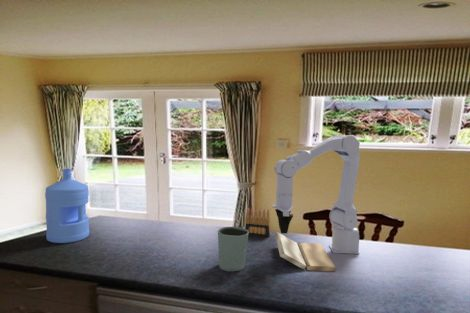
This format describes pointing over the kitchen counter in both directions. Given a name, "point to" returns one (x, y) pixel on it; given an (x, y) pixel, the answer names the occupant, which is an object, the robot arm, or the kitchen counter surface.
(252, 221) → the ammunition clip
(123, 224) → the kitchen counter surface
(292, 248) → the plank
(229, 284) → the kitchen counter surface
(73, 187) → the water jug
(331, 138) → the robot arm
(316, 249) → the laid plank
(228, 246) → the green cup
